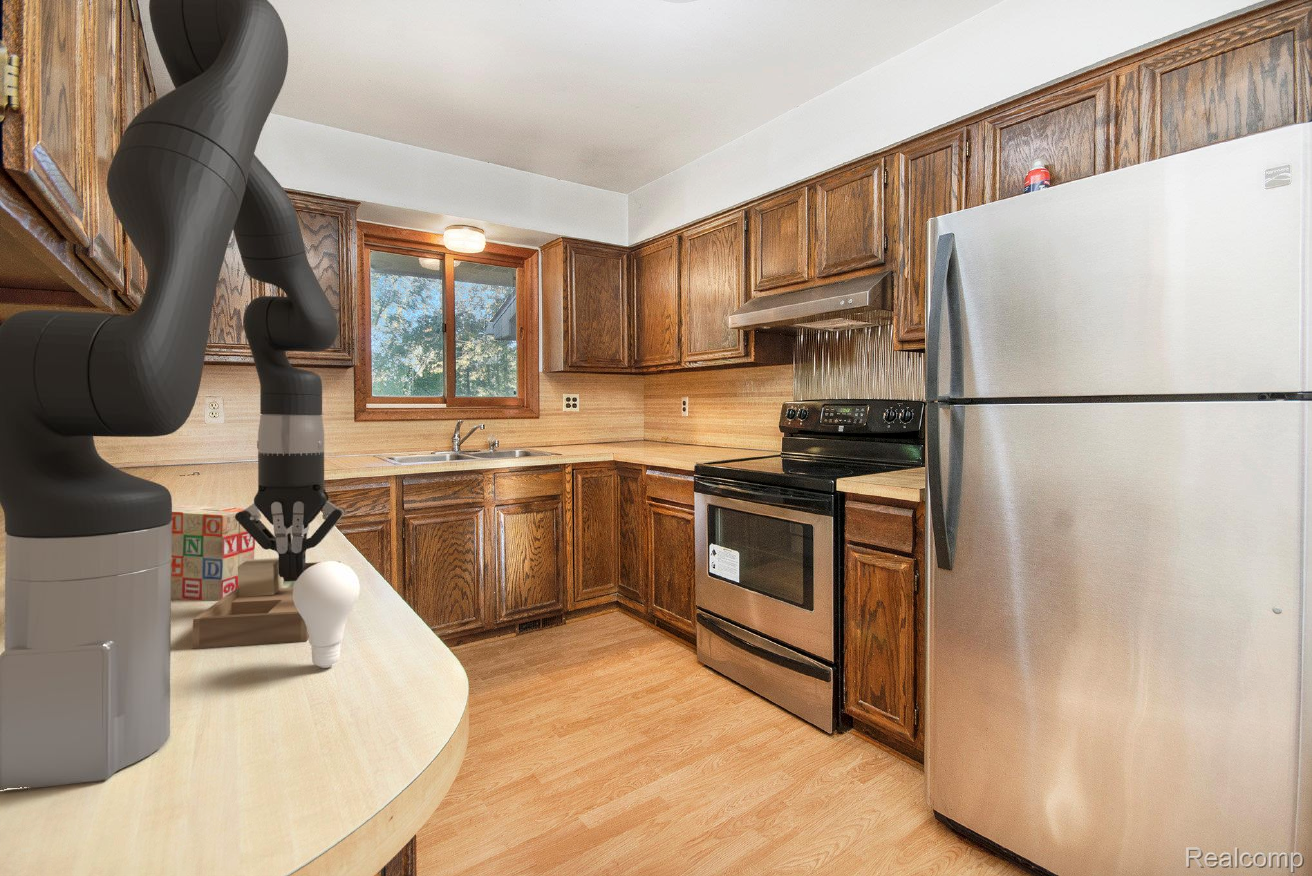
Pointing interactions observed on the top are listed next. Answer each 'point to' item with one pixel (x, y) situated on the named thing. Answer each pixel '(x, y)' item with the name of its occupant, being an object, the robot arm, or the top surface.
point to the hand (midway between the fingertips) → (291, 579)
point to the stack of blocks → (207, 551)
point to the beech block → (259, 577)
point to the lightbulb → (326, 607)
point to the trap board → (251, 620)
